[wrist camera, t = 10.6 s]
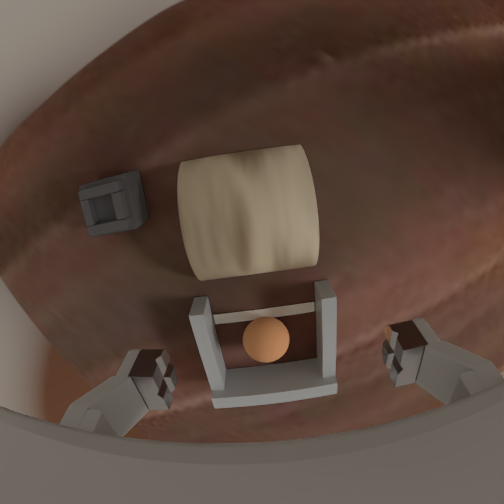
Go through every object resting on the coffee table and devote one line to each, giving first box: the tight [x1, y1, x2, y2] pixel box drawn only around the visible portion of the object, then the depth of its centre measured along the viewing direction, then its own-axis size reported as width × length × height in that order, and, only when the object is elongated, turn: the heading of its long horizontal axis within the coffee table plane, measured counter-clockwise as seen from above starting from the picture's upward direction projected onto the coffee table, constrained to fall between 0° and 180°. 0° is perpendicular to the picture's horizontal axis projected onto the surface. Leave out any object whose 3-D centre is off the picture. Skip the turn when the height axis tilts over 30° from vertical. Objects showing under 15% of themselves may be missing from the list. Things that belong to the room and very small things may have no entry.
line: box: [213, 302, 315, 324], centre depth 27 cm, size 9×1×1 cm, turn 98°
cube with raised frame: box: [78, 170, 149, 237], centre depth 21 cm, size 4×4×4 cm
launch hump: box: [177, 144, 319, 281], centre depth 24 cm, size 9×10×10 cm
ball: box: [243, 317, 290, 362], centre depth 25 cm, size 4×4×4 cm
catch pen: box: [189, 280, 338, 408], centre depth 26 cm, size 12×10×4 cm
